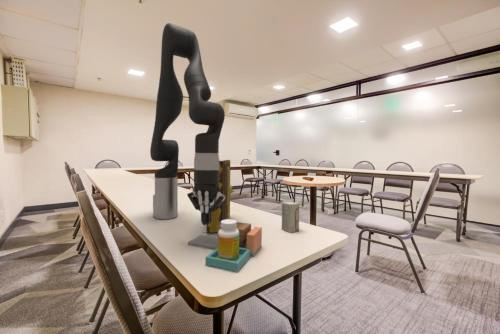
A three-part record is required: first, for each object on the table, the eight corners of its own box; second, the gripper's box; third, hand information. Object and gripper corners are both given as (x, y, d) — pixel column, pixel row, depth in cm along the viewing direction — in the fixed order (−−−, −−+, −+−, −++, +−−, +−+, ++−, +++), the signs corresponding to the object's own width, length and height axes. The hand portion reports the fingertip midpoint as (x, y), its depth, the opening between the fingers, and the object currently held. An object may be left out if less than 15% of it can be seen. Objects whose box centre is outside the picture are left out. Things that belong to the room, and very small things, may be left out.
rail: (187, 244, 67) (187, 225, 67) (200, 236, 73) (200, 219, 73) (253, 256, 59) (253, 235, 59) (261, 246, 66) (261, 227, 66)
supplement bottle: (236, 264, 54) (237, 225, 54) (215, 262, 55) (215, 223, 54) (240, 254, 59) (241, 218, 59) (221, 253, 60) (221, 217, 60)
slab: (217, 245, 64) (217, 226, 63) (227, 237, 70) (227, 220, 69) (242, 249, 61) (243, 230, 61) (251, 241, 67) (251, 223, 67)
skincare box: (299, 231, 80) (300, 203, 80) (290, 233, 78) (290, 204, 78) (290, 227, 85) (290, 200, 84) (280, 228, 83) (281, 202, 82)
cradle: (205, 265, 55) (205, 257, 54) (222, 251, 63) (222, 244, 62) (237, 272, 52) (237, 263, 51) (250, 256, 60) (250, 249, 59)
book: (226, 234, 76) (227, 161, 75) (202, 233, 76) (202, 160, 75) (233, 216, 98) (233, 160, 97) (213, 216, 98) (214, 159, 97)
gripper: (180, 167, 67) (180, 224, 68) (220, 169, 62) (219, 231, 63) (195, 166, 74) (195, 218, 75) (231, 168, 69) (230, 223, 70)
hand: (206, 224), depth 69 cm, fingers closed
